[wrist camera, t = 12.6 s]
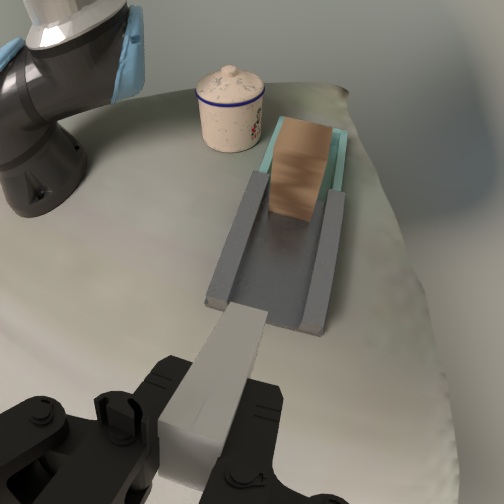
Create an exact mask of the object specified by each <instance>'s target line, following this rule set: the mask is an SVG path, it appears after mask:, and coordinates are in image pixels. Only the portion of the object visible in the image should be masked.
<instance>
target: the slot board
mask: <svg viewBox="0 0 504 504" xmlns="http://www.w3.org/2000/svg"><path fill="white" fill-rule="evenodd" d="M269 181H270V174H267V173H262V172H258V171H253V173H252V175H251V178H250V180H249V183H248V186H247V188H246V191H245V193H244V196H243V198H242V201H241V203H240V206H239V209H238V211H237V214H236V216H235V219H234V222H233V224H232V227H231V229H230V232H229V235H228V237H227V240H226V243H225V245H224V248H223V251H222V253H221V256H220V259H219V261H218V264H217V267H216V269H215V272H214V275H213V277H212V280H211V283H210V286H209V288H208V291H207V294H206V300H205V306H206V307H210V308H213V309H217V310H220V311H223V312H225V310H226V308H227V307H228V305H229V304H230V302H234V303H237V304H241V305H245V306H248V307H252V308H256V309H260V310H263V311H267V312H268V314H267V318H266V322H265V323H267V324H271V325H274V326H278V327H282V328H286V329H290V330H294V331H298V332H302V333H306V334H310V335H315V336H319V337H321V336H322V334H323V330H324V325H325V320H326V315H327V310H328V305H329V300H330V295H331V289H332V284H333V278H334V273H335V267H336V261H337V255H338V248H339V242H340V235H341V228H342V221H343V214H344V201H345V192H341V191H337V190H333V189H330V188H329V190H328V193H327V196H326V199H325V201H321V200H316V203H315V207H314V210H313V214H312V217H311V221H306V220H302V219H298V218H294V217H290V216H286V215H282V214H278V213H274V212H270V211H268V206H269V195H270V188H269Z"/></svg>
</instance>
